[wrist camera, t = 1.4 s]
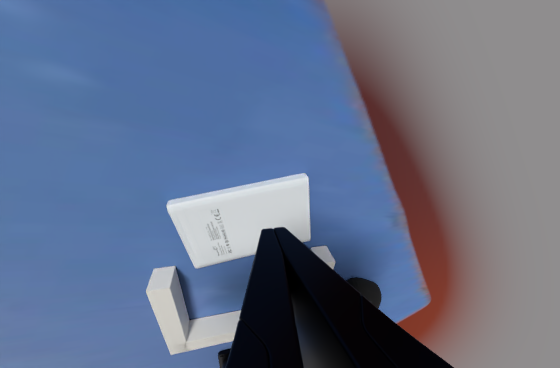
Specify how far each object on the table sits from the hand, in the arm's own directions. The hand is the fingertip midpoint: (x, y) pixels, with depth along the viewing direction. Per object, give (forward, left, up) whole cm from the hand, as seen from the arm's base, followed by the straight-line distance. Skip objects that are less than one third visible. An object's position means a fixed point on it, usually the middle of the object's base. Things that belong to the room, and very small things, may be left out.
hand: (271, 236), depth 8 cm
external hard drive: (-8, 0, -12) cm, 14 cm away
